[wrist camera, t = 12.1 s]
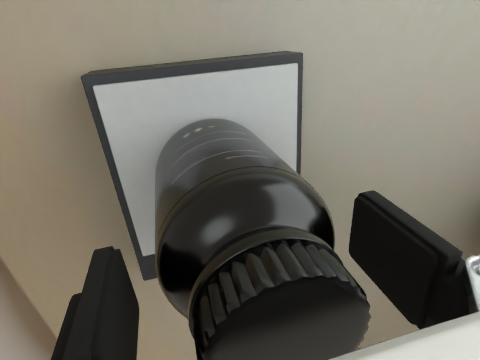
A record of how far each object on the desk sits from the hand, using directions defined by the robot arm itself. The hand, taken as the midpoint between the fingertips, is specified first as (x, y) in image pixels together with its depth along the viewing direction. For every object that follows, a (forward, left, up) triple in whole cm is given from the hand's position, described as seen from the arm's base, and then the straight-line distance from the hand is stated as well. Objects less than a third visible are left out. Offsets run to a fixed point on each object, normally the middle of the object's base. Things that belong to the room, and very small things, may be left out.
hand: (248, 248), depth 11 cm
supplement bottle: (0, 0, -8) cm, 8 cm away
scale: (0, -1, -11) cm, 11 cm away
